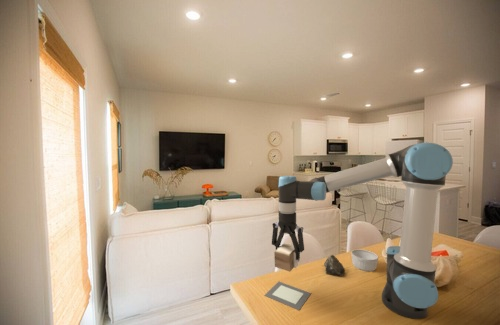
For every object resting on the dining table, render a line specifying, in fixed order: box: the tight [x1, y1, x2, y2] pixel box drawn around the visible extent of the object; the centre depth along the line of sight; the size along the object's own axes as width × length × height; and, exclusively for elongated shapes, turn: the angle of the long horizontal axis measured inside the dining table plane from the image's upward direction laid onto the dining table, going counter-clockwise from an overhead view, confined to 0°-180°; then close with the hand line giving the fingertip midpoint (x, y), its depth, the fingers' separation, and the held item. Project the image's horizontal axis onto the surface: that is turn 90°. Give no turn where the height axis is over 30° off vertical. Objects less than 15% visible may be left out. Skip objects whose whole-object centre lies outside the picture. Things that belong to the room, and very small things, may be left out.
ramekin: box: [350, 248, 379, 272], centre depth 120 cm, size 13×13×7 cm
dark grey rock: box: [323, 254, 346, 277], centre depth 114 cm, size 11×9×10 cm
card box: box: [274, 242, 301, 273], centre depth 95 cm, size 10×7×7 cm
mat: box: [263, 281, 312, 311], centre depth 96 cm, size 16×13×1 cm
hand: (287, 263), depth 95 cm, fingers closed on card box, 7 cm apart
